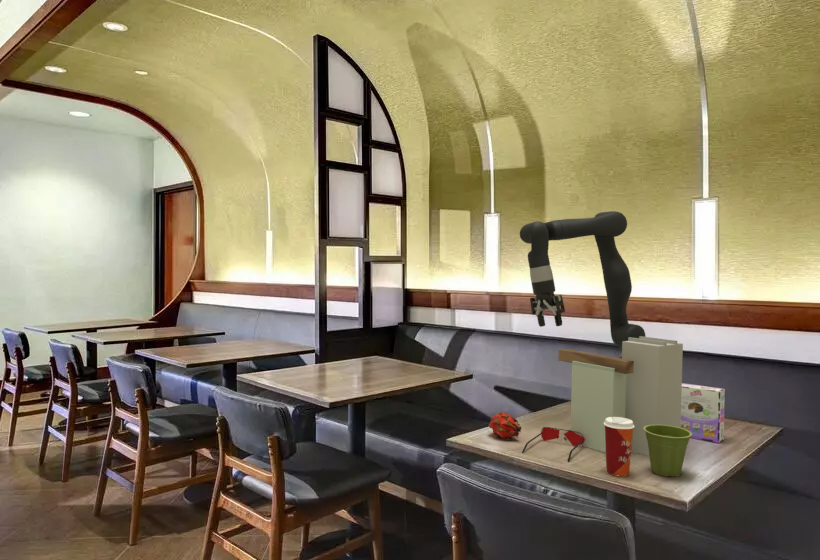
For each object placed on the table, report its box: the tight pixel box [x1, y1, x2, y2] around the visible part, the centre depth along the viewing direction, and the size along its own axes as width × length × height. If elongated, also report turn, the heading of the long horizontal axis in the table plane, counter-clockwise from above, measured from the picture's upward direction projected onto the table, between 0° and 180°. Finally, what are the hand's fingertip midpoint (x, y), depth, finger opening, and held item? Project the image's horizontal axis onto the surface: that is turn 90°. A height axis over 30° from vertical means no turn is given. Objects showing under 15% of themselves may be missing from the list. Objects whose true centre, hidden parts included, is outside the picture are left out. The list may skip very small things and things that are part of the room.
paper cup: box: [604, 417, 635, 477], centre depth 156 cm, size 8×8×14 cm
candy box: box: [681, 382, 726, 444], centre depth 189 cm, size 14×6×16 cm, turn 47°
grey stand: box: [621, 336, 684, 458], centre depth 175 cm, size 12×12×33 cm
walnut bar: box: [557, 348, 634, 374], centre depth 179 cm, size 4×26×4 cm, turn 31°
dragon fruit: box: [488, 411, 522, 441], centre depth 186 cm, size 8×8×12 cm
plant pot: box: [643, 424, 692, 477], centre depth 156 cm, size 12×12×11 cm
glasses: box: [521, 426, 585, 463], centre depth 174 cm, size 14×16×5 cm
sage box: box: [570, 361, 626, 454], centre depth 178 cm, size 6×15×25 cm, turn 35°
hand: (550, 326), depth 203 cm, fingers open, 8 cm apart
